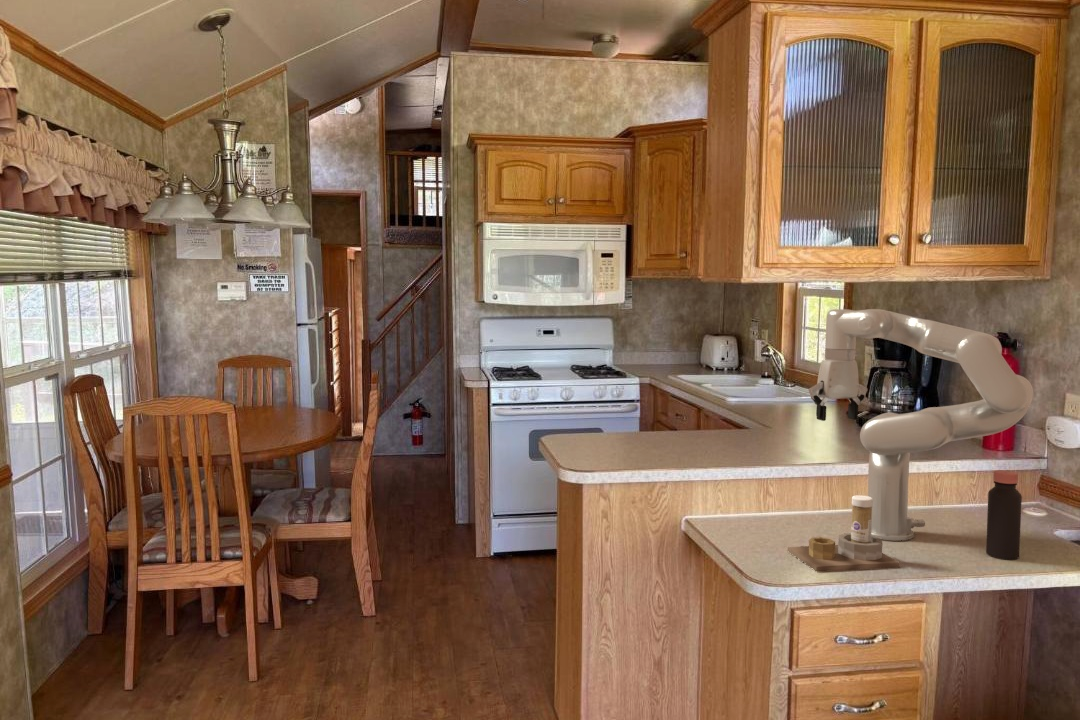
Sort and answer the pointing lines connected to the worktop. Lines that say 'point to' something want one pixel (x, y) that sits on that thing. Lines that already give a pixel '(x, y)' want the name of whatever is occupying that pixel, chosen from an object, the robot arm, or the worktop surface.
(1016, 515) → the brown bottle
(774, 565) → the worktop surface
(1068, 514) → the worktop surface
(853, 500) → the sprinkles bottle
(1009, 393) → the robot arm
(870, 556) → the fitting board
